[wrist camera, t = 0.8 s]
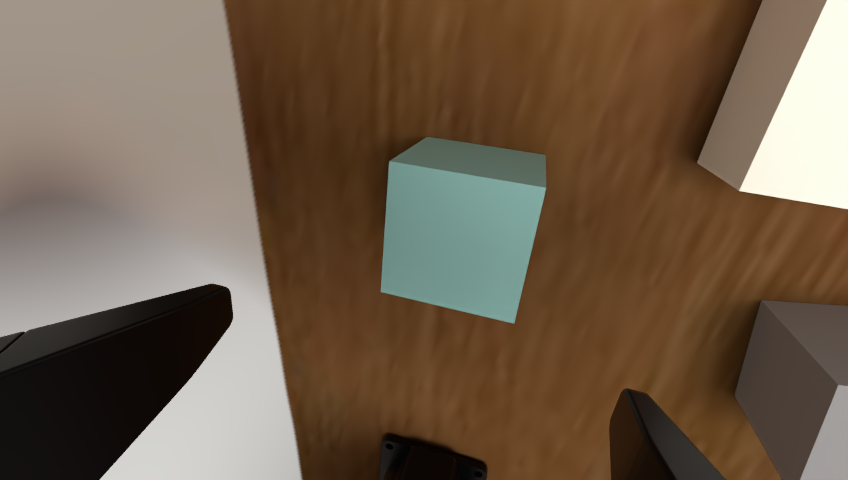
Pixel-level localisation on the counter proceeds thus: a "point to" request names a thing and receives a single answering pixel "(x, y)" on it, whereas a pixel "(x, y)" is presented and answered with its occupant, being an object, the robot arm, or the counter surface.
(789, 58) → the cream base block
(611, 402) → the counter surface
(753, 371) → the light gray block
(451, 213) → the teal block
